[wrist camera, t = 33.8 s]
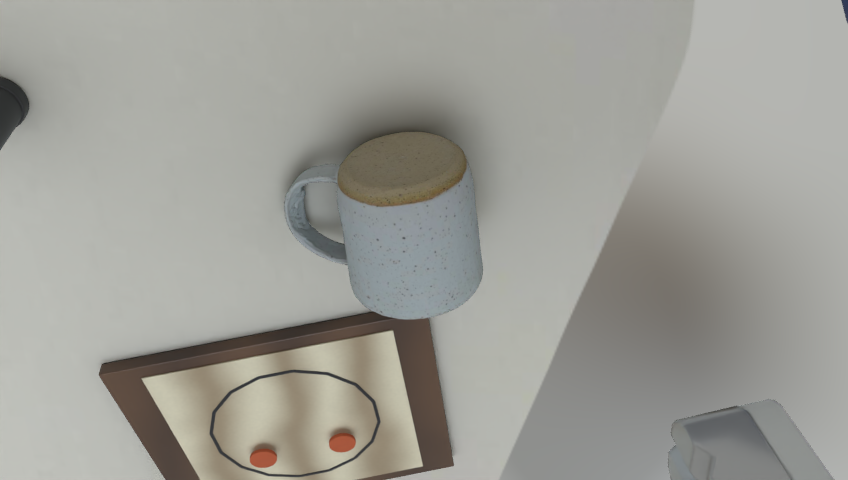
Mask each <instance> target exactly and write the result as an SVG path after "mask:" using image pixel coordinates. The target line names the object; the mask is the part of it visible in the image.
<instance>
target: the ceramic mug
mask: <svg viewBox="0 0 848 480" xmlns="http://www.w3.org/2000/svg"><path fill="white" fill-rule="evenodd" d="M322 181H323V182H334V183H336V184H337V203H338V209H339V214H340V219H341V223H342V228H343V235H344V242H345V244H342V243H338V242H335V241H333V240H331V239H329V238H327V237H325V236H323V235H322V234H321V233H319V232H318V231H317V230H316V229H315V228H313V227H312V226H311V225H310V224H309V221H308V220H307V218H306V215H305V208H304V196H305V190H304V188H303V186H304V185H306V184H308V183H313V182H322ZM284 211H285V217H286V221H287V224H288V226H289V229H290V230H291V232H292V234H293V235H294V236H295V238H296V239H297V240H298V241H299V242H300V243H301V244H302V245H303V246H305V247H306V248H307V249H309V250H310V251H312V252H313V253H315V254H317V255H319V256H321V257H323V258H325V259H328V260H330V261H333V262H336V263H341V264H345V265H348V269H349V276H350V282H351V286H352V289H353V292H354V294H355V296H356V298H357V299H358V300H359V301H360V302H361V303H362V304H363V305H364V306H365V307H367V308H369V309H370V310H371V311H374V312H376V313H378V314H380V315H383V316H387V317H392V318H397V319H420V318H421V319H425V318H430V317H434V316H438V315H441V314H444V313H446V312H449V311H451V310H453V309H455V308H457V307H459V306H460V305H462V304H463V303H465V302H466V301H467V300H468V299H469V298H470V297H471V296H472V295H473V294H474V293H475V291H476V290H477V288H478V286H479V284H480V282H481V279H482V274H483V265H482V258H481V250H480V239H479V229H478V221H477V214H476V206H475V194H474V185H473V179H472V174H471V171H470V168H469V164H468V161H467V159H466V156H465V155H464V153H463V151H462V150H461V149H460V147H459V146H457V145H456V144H454V143H453V142H451V141H450V140H448V139H446V138H444V137H441V136H438V135H435V134H431V133H425V132H400V133H393V134H389V135H385V136H381V137H378V138H375V139H372V140H370V141H368V142H366V143H364V144H361V145H360V146H359V147H357V148H356V149H354V150H353V151H352V152H351V153H350V154H349V155H348V156H347V157H346V159H345V160H344V161H343V162H342V164H341V165H333V164H325V165H320V166H315V167H312V168H309V169H307V170H305V171H304V172H303V173H301V174H300V175H299V176H298V177H297V179H296V180H295V181H294V183H293V184H292V185H291V186H290V188H289V190H288V192H287V194H286V196H285V202H284Z"/></svg>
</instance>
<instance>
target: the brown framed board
mask: <svg viewBox="0 0 848 480" xmlns="http://www.w3.org/2000/svg"><path fill="white" fill-rule="evenodd" d="M99 376H100V378H101V379H102V381H103V383H104V384H105V386H106V387H107V389H108V390H109V392H110V394H111V395H112V397H113V398H114V400H115V401H116V403H117V404H118V406H119V408H120V409H121V411H122V412H123V414H124V415H125V417H126V419H127V420H128V422H129V423H130V425H131V426H132V428H133V430H134V431H135V433H136V434H137V436H138V437H139V439H140V440H141V442H142V444H143V445H144V447H145V448H146V450H147V451H148V453H149V455H150V456H151V458H152V459H153V461H154V462H155V464H156V466H157V467H158V469H159V470H160V472H161V473H162V475H163V477H164V478H165V480H386V479H391V478H396V477H401V476H406V475H411V474H416V473H421V472H426V471H431V470H436V469H441V468H446V467H451V466H454V463H453V457H452V451H451V446H450V440H449V434H448V428H447V422H446V417H445V411H444V405H443V399H442V394H441V388H440V382H439V376H438V370H437V365H436V359H435V353H434V347H433V342H432V336H431V330H430V324H429V319H428V318H425V319H421V318H420V319H397V318H392V317H387V316H383V315H380V314H378V313H376V312H372V313H367V314H362V315H356V316H351V317H346V318H341V319H336V320H330V321H325V322H320V323H315V324H309V325H304V326H299V327H294V328H289V329H283V330H278V331H273V332H268V333H262V334H257V335H252V336H247V337H242V338H236V339H231V340H226V341H221V342H215V343H210V344H205V345H200V346H195V347H189V348H184V349H179V350H174V351H168V352H163V353H158V354H153V355H148V356H142V357H137V358H132V359H127V360H122V361H116V362H111V363H106V364H102V366H101V369H100V372H99ZM339 433H348V434H351V435H353V436H354V437H355V440H356V445H355V447H354V448H353V449H352V450H350V451H347V452H335V451H333V450H331V449H330V447H329V440H330V438H331V437H332V436H334V435H336V434H339ZM258 449H270V450H273V451H274V452H275V453H276V454H277V461H276V463H275V464H274V465H272V466H270V467H267V468H258V467H255V466H253V465H252V464H251V463H250V455H251V453H252V452H254V451H256V450H258Z"/></svg>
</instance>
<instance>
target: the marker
mask: <svg viewBox="0 0 848 480" xmlns="http://www.w3.org/2000/svg"><path fill="white" fill-rule="evenodd" d="M28 110H29V103H28V100H27V97H26V95H25V94H24V92H23V91H22V90H21V89H20V88H19V87H18V86H17V85H16V84H14V83H13V82H11V81H9V80H7V79H5V78H1V77H0V150H1V148H2V147H3V145H4V144H5V142H6V141H7V139H8V138H9V136H10V135H11V133H12V132H13V130H14V129H15V127H17V126H18V125H20V124H21V123H22V121H23V120H24V118H25V117H26V115H27V113H28Z"/></svg>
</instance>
